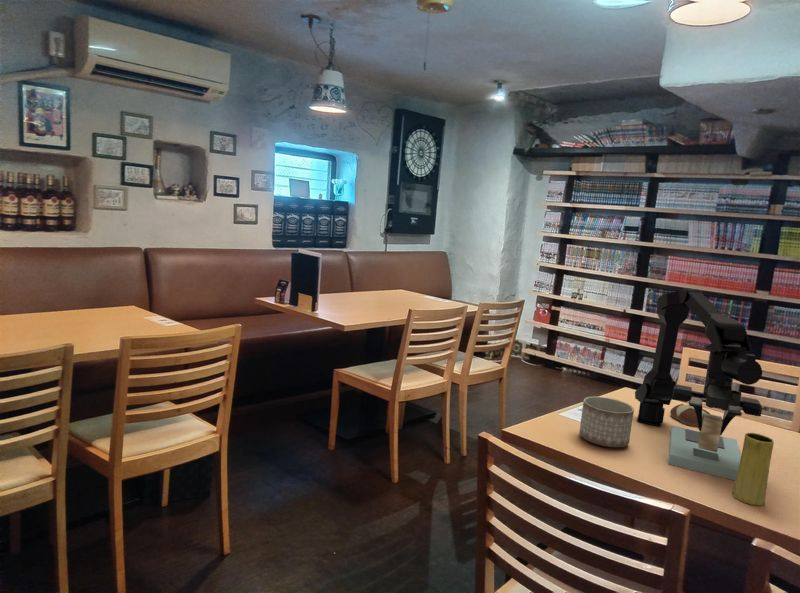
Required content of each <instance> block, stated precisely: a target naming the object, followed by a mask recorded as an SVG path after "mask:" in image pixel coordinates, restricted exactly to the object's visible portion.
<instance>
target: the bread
mask: <svg viewBox="0 0 800 593" xmlns="http://www.w3.org/2000/svg"><path fill="white" fill-rule="evenodd" d="M669 413H670V416H671V417H672V418H673V419H674V420H676V421H679V422H680V423H682V424H684V425H686V426H689V427H693V428H694V427H695V428H699V426H698V421H697V416H696V412H695V410H694V407H693V406H690V405H689V404H684V403H680V404H677V405H675V406H673V407H672V408H671V409H670V412H669ZM703 413H706V414H711V413H710V412H709V411H707V410H706V409H703V408H702V417H703Z"/></svg>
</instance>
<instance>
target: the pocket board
mask: <svg viewBox="0 0 800 593" xmlns="http://www.w3.org/2000/svg"><path fill="white" fill-rule="evenodd" d="M699 435H700V431H699V430H696V429H695V430H694V429H691V428H685V427H681V426H676V425H673V424H671V428H670V433H669V450H668V451H669V452H668V465H671V466H672V465H673V466H676V467H680V468H683V469H688V470H691V471H696V472H700V473H703V474H708V475H710V476H711V475H712V476H715V477H719V478H724V479H727V480H728V479H729V480H732V481H736V476H737V472H738V469H739V464H740V459H741V455H742V453H741V451H740V448H739V447H740V446H739V444H738V440H737V439H736V438H731V437H728V436H722V435H721V436H720V439H719V444H718V450H717V452H713V451H709V450H704V449H700V448H699V446H698V441H699Z"/></svg>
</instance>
